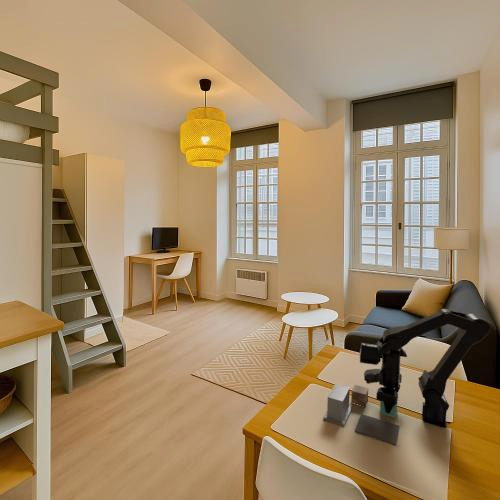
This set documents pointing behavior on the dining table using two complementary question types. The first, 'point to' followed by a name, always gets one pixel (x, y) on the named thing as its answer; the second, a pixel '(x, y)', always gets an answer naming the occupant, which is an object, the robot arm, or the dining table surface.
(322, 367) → the dining table surface
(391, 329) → the robot arm
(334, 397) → the grey upright box
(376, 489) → the dining table surface
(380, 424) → the dark grey mat
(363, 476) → the dining table surface
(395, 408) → the teal block
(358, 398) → the walnut block
